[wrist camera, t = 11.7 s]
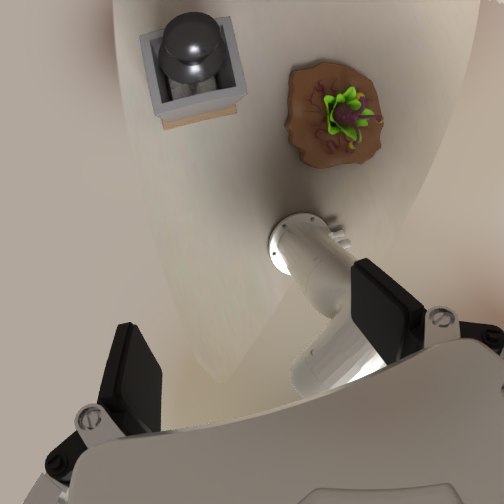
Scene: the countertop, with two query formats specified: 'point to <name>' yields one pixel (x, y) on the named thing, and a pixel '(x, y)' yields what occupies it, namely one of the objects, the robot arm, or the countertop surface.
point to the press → (201, 104)
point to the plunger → (191, 54)
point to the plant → (333, 115)
